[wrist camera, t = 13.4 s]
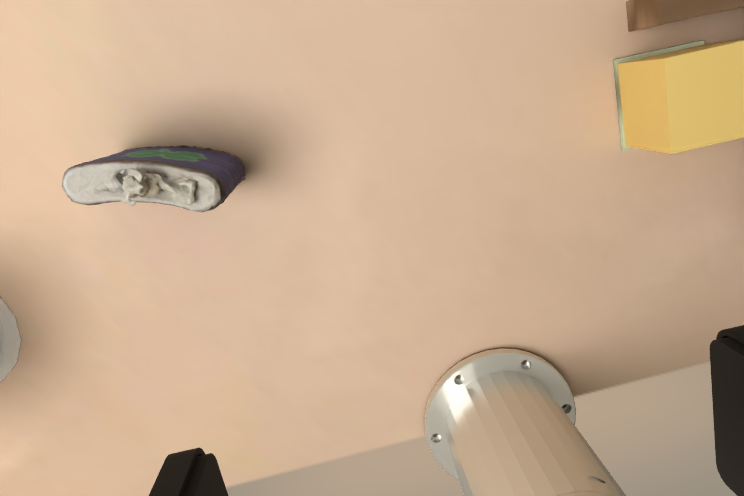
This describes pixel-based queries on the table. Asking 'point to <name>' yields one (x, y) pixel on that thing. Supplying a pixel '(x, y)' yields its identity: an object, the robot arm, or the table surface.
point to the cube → (684, 98)
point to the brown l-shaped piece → (660, 6)
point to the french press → (8, 340)
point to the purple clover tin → (157, 177)
